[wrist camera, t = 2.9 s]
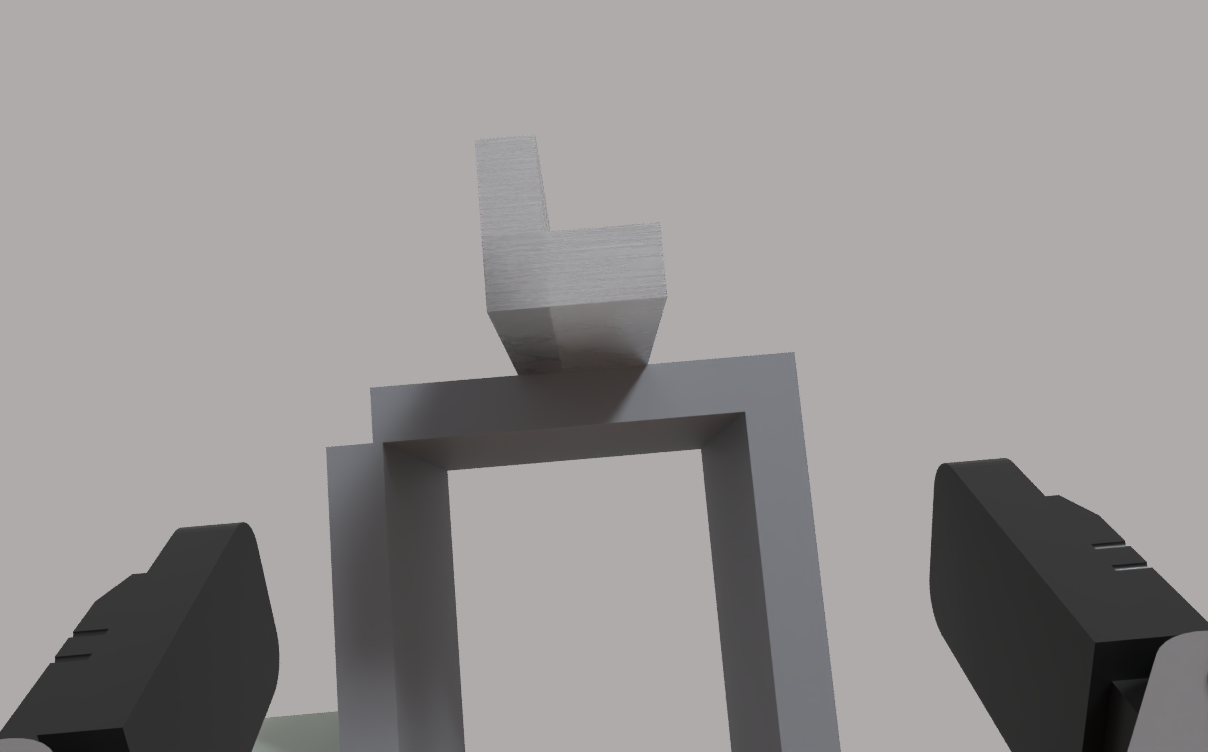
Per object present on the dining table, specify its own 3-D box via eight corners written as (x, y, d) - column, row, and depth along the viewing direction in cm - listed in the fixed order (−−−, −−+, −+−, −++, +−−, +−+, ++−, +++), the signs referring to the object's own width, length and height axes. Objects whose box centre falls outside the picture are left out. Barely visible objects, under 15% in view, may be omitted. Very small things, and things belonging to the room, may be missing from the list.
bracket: (632, 415, 40) (624, 326, 40) (666, 297, 20) (650, 125, 21) (542, 423, 40) (535, 334, 40) (487, 311, 20) (475, 139, 20)
